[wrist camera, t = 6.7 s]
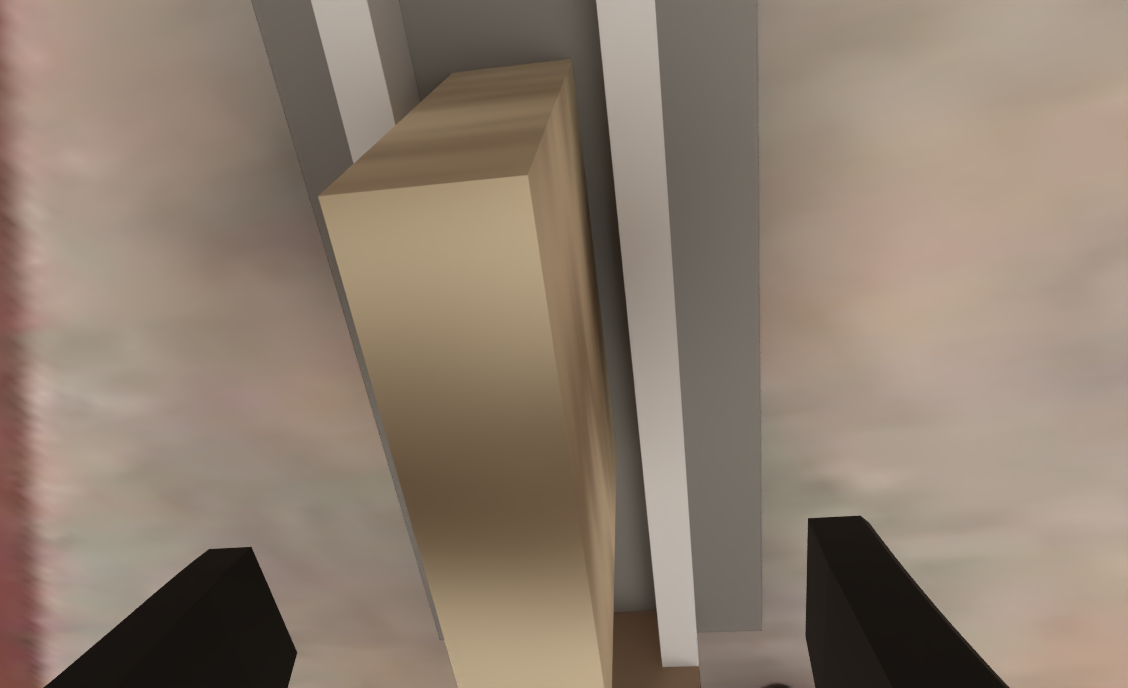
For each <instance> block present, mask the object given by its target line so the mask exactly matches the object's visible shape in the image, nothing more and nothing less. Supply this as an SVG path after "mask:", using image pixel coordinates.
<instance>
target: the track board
mask: <svg viewBox="0 0 1128 688" xmlns="http://www.w3.org/2000/svg"><path fill="white" fill-rule="evenodd" d="M251 1H252V4H253V7H254V11H255V14H256V18H257V21H258V24H259V28H260V31H261V35H262V38H263V41H264V45H265V48H266V52H267V55H268V58H269V62H270V65H271V68H272V72H273V75H274V79H275V82H276V85H277V89H278V92H279V96H280V99H281V102H282V106H283V109H284V113H285V116H286V119H287V123H288V126H289V129H290V133H291V136H292V140H293V143H294V146H295V150H296V153H297V157H298V160H299V163H300V167H301V170H302V174H303V177H304V180H305V184H306V187H307V191H308V194H309V197H310V201H311V204H312V207H313V211H314V214H315V218H316V221H317V224H318V228H319V231H320V235H321V238H322V241H323V245H324V248H325V252H326V255H327V258H328V262H329V265H330V269H331V272H332V275H333V279H334V282H335V285H336V289H337V292H338V296H339V299H340V302H341V306H342V309H343V313H344V316H345V319H346V323H347V326H348V330H349V333H350V336H351V340H352V343H353V347H354V350H355V353H356V357H357V360H358V363H359V367H360V370H361V374H362V377H363V380H364V384H365V387H366V391H367V394H368V397H369V401H370V404H371V408H372V411H373V414H374V418H375V421H376V425H377V428H378V431H379V435H380V438H381V441H382V445H383V448H384V452H385V455H386V458H387V462H388V465H389V469H390V472H391V475H392V479H393V482H394V486H395V489H396V492H397V496H398V499H399V502H400V506H401V509H402V513H403V516H404V519H405V523H406V526H407V530H408V533H409V536H410V540H411V543H412V547H413V550H414V553H415V557H416V560H417V564H418V567H419V570H420V574H421V577H422V580H423V584H424V587H425V591H426V594H427V597H428V601H429V604H430V608H431V611H432V614H433V618H434V621H435V625H436V628H437V631H438V635H439V638H440V640H444V637H443V633H442V630H441V626H440V623H439V619H438V616H437V612H436V609H435V605H434V602H433V598H432V595H431V591H430V588H429V584H428V581H427V577H426V573H425V570H424V566H423V563H422V559H421V556H420V552H419V549H418V545H417V542H416V538H415V535H414V531H413V528H412V524H411V521H410V517H409V514H408V510H407V507H406V503H405V500H404V496H403V493H402V489H401V486H400V482H399V479H398V475H397V472H396V468H395V465H394V461H393V458H392V454H391V451H390V447H389V444H388V440H387V437H386V433H385V430H384V426H383V423H382V419H381V416H380V412H379V409H378V405H377V401H376V398H375V394H374V391H373V387H372V384H371V380H370V377H369V373H368V370H367V366H366V363H365V359H364V356H363V352H362V349H361V345H360V342H359V338H358V335H357V331H356V328H355V324H354V321H353V317H352V314H351V310H350V307H349V303H348V300H347V296H346V293H345V289H344V286H343V282H342V279H341V275H340V272H339V268H338V265H337V261H336V258H335V254H334V251H333V247H332V244H331V240H330V237H329V233H328V229H327V226H326V222H325V219H324V215H323V212H322V208H321V205H320V201H319V198H318V196H319V195H320V194H321V193H322V192H323V191H324V190H325V189H326V188H328V187H329V186H330V185H331V184H332V183H333V182H334V181H335V180H336V179H337V178H338V177H340V176H341V175H342V174H343V173H344V172H345V171H346V170H347V169H348V168H349V167H350V166H352V165H353V164H354V163H355V162H356V161H357V160H358V159H359V158H360V157H361V156H362V155H364V154H365V153H366V152H367V151H368V150H369V149H370V148H371V147H372V146H373V145H374V144H376V143H377V142H378V141H379V140H380V139H381V138H382V137H383V136H384V135H385V134H386V133H387V132H389V131H390V130H391V129H392V128H393V127H394V126H395V125H396V124H397V123H398V122H399V121H401V120H402V119H403V118H404V117H405V116H406V115H407V114H408V113H409V112H410V111H411V110H413V109H414V108H415V107H416V106H417V105H418V104H419V103H420V102H421V101H422V100H423V99H425V98H426V97H427V96H428V95H429V94H430V93H431V92H432V91H433V90H434V89H435V88H437V87H438V86H439V85H440V84H441V83H442V82H443V81H444V80H445V79H446V78H447V77H449V76H450V75H451V74H452V73H455V72H463V71H472V70H480V69H488V68H497V67H505V66H514V65H522V64H530V63H539V62H547V61H556V60H564V59H572V61H573V70H574V79H575V88H576V97H577V106H578V115H579V124H580V132H581V141H582V150H583V159H584V168H585V177H586V186H587V194H588V203H589V212H590V221H591V230H592V239H593V248H594V257H595V265H596V274H597V283H598V292H599V301H600V310H601V319H602V328H603V336H604V345H605V354H606V363H607V372H608V381H609V390H610V399H611V407H612V416H613V425H614V434H615V443H616V452H617V465H616V514H615V562H614V610H613V658H612V688H701V683H700V673H699V660H698V645H697V632H731V631H762V534H761V410H760V286H759V162H758V38H757V0H251Z"/></svg>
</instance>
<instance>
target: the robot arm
mask: <svg viewBox="0 0 1128 688" xmlns="http://www.w3.org/2000/svg"><path fill="white" fill-rule="evenodd" d="M806 641H807V646H808V651H809V656H810V662H811V667H812V672H813V677H814V683H815V688H1009V687H1008V686H1007V685H1006V684H1005V683H1004V682H1003V680H1002V679H1001V678H1000V677H999V676H998V675H997V674H996V673H995V672H994V671H993V670H992V669H991V668H990V666H989V665H988V664H987V663H986V662H985V661H984V660H983V659H982V658H981V657H980V655H979V654H978V653H977V652H976V651H975V650H974V649H973V648H972V647H971V645H970V644H969V643H968V642H967V641H966V640H965V639H964V638H963V637H962V636H961V634H960V633H959V632H958V631H957V630H956V629H955V628H954V627H953V626H952V624H951V623H950V622H949V621H948V620H947V619H946V618H945V616H944V615H943V614H942V613H941V612H940V611H939V609H938V608H937V607H936V606H935V605H934V604H933V602H932V601H931V600H930V599H929V598H928V596H927V595H926V594H925V593H924V592H923V590H922V589H921V588H920V587H919V586H918V584H917V583H916V582H915V581H914V580H913V578H912V577H911V576H910V575H909V574H908V572H907V571H906V570H905V569H904V567H903V566H902V565H901V564H900V562H899V561H898V560H897V559H896V557H895V556H894V555H893V553H892V552H891V551H890V550H889V548H888V547H887V546H886V544H885V543H884V542H883V541H882V539H881V538H880V537H879V535H878V534H877V533H876V531H875V530H874V529H873V527H872V526H871V525H870V523H869V522H867V521H866V520H865V519H864V518H863V517H861V516H845V517H825V518H808V547H807V594H806ZM296 655H297V651H296V649H295V646H294V644H293V642H292V640H291V637H290V635H289V633H288V630H287V628H286V626H285V623H284V621H283V619H282V616H281V614H280V612H279V610H278V607H277V605H276V603H275V600H274V598H273V596H272V593H271V591H270V589H269V586H268V584H267V582H266V580H265V577H264V575H263V573H262V570H261V568H260V566H259V563H258V561H257V559H256V557H255V554H254V552H253V550H252V547H241V548H222V549H209V550H207V551H206V552H205V553H203V554H202V555H201V556H200V557H198V558H197V559H196V560H194V561H193V562H192V563H191V564H189V565H188V566H187V567H186V568H184V569H183V570H182V571H181V572H179V573H178V574H177V575H176V576H175V577H173V578H172V579H171V580H170V581H169V582H167V583H166V584H165V585H164V586H163V587H162V588H160V589H159V590H158V591H157V592H156V593H154V594H153V595H152V596H151V597H150V598H149V599H147V600H146V601H145V602H144V603H143V604H142V605H140V606H139V607H138V608H137V609H136V610H135V611H133V612H132V613H131V614H130V615H129V616H128V617H127V618H125V619H124V620H123V621H122V622H121V623H120V624H118V625H117V626H116V627H115V628H114V629H113V630H111V631H110V632H109V633H108V634H107V635H105V636H104V637H103V638H102V639H101V640H100V641H98V642H97V643H96V644H95V645H94V646H92V647H91V648H90V649H89V650H88V651H87V652H85V653H84V654H83V655H82V656H81V657H80V658H78V659H77V660H76V661H75V662H74V663H72V664H71V665H70V666H69V667H68V668H67V669H65V670H64V671H63V672H62V673H61V674H60V675H58V676H57V677H56V678H55V679H54V680H52V681H51V682H50V683H49V684H48V685H46V686H45V687H44V688H288V684H289V681H290V677H291V673H292V670H293V666H294V662H295V659H296Z"/></svg>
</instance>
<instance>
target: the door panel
mask: <svg viewBox="0 0 1128 688" xmlns="http://www.w3.org/2000/svg"><path fill="white" fill-rule="evenodd" d="M318 198H319V201H320V205H321V208H322V212H323V215H324V219H325V222H326V226H327V229H328V233H329V237H330V240H331V244H332V247H333V251H334V254H335V258H336V261H337V265H338V268H339V272H340V275H341V279H342V282H343V286H344V289H345V293H346V296H347V300H348V303H349V307H350V310H351V314H352V317H353V321H354V324H355V328H356V331H357V335H358V338H359V342H360V345H361V349H362V352H363V356H364V359H365V363H366V366H367V370H368V373H369V377H370V380H371V384H372V387H373V391H374V394H375V398H376V401H377V405H378V409H379V412H380V416H381V419H382V423H383V426H384V430H385V433H386V437H387V440H388V444H389V447H390V451H391V454H392V458H393V461H394V465H395V468H396V472H397V475H398V479H399V482H400V486H401V489H402V493H403V496H404V500H405V503H406V507H407V510H408V514H409V517H410V521H411V524H412V528H413V531H414V535H415V538H416V542H417V545H418V549H419V552H420V556H421V559H422V563H423V566H424V570H425V573H426V577H427V581H428V584H429V588H430V591H431V595H432V598H433V602H434V605H435V609H436V612H437V616H438V619H439V623H440V626H441V630H442V633H443V637H444V640H445V644H446V647H447V651H448V654H449V658H450V661H451V665H452V668H453V672H454V675H455V679H456V682H457V686H458V688H612V658H613V610H614V562H615V514H616V465H617V452H616V443H615V434H614V425H613V416H612V407H611V399H610V390H609V381H608V372H607V363H606V354H605V345H604V336H603V328H602V319H601V310H600V301H599V292H598V283H597V274H596V265H595V257H594V248H593V239H592V230H591V221H590V212H589V203H588V194H587V186H586V177H585V168H584V159H583V150H582V141H581V132H580V124H579V115H578V106H577V97H576V88H575V79H574V70H573V61H572V59H564V60H556V61H547V62H539V63H530V64H522V65H514V66H505V67H497V68H488V69H480V70H472V71H463V72H455V73H452V74H451V75H450V76H449V77H447V78H446V79H445V80H444V81H443V82H442V83H441V84H440V85H439V86H438V87H437V88H435V89H434V90H433V91H432V92H431V93H430V94H429V95H428V96H427V97H426V98H425V99H423V100H422V101H421V102H420V103H419V104H418V105H417V106H416V107H415V108H414V109H413V110H411V111H410V112H409V113H408V114H407V115H406V116H405V117H404V118H403V119H402V120H401V121H399V122H398V123H397V124H396V125H395V126H394V127H393V128H392V129H391V130H390V131H389V132H387V133H386V134H385V135H384V136H383V137H382V138H381V139H380V140H379V141H378V142H377V143H376V144H374V145H373V146H372V147H371V148H370V149H369V150H368V151H367V152H366V153H365V154H364V155H362V156H361V157H360V158H359V159H358V160H357V161H356V162H355V163H354V164H353V165H352V166H350V167H349V168H348V169H347V170H346V171H345V172H344V173H343V174H342V175H341V176H340V177H338V178H337V179H336V180H335V181H334V182H333V183H332V184H331V185H330V186H329V187H328V188H326V189H325V190H324V191H323V192H322V193H321V194H320V195H319V196H318Z"/></svg>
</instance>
